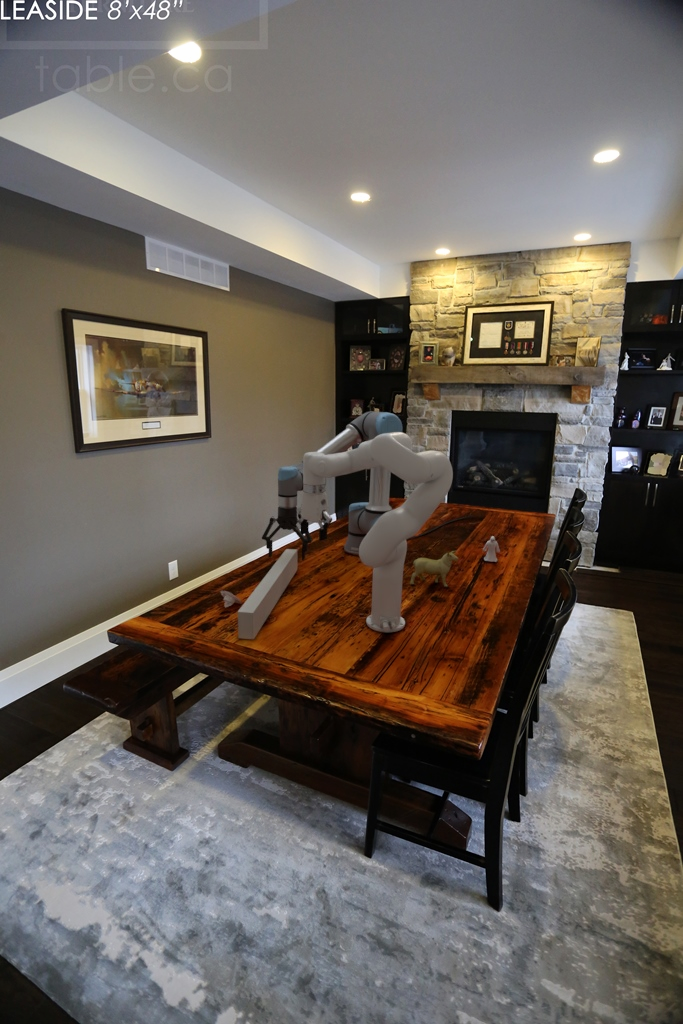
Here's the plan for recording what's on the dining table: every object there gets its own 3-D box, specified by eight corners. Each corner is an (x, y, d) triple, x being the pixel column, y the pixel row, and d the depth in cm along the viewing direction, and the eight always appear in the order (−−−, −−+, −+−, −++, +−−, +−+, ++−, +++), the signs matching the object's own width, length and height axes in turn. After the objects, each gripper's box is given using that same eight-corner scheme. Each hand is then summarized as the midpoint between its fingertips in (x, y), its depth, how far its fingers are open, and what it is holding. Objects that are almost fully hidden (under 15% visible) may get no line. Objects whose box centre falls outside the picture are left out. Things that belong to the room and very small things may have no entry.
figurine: (481, 562, 222) (483, 536, 219) (482, 556, 230) (484, 531, 227) (499, 564, 220) (501, 538, 217) (499, 558, 228) (501, 533, 225)
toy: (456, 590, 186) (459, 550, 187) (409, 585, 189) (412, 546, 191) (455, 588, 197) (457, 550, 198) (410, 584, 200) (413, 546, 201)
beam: (253, 639, 151) (253, 612, 149) (238, 638, 152) (237, 611, 150) (297, 569, 210) (297, 549, 208) (286, 568, 210) (286, 548, 208)
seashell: (226, 615, 174) (211, 598, 174) (236, 605, 178) (222, 588, 177) (235, 611, 168) (219, 593, 168) (245, 600, 172) (230, 583, 171)
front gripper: (339, 491, 167) (338, 540, 171) (305, 483, 179) (305, 529, 183) (323, 494, 162) (322, 544, 166) (289, 486, 174) (289, 533, 178)
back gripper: (320, 506, 199) (319, 557, 204) (259, 502, 202) (259, 552, 207) (317, 510, 191) (315, 563, 196) (253, 506, 194) (254, 558, 199)
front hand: (313, 536), depth 175 cm, fingers open, 9 cm apart
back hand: (286, 557), depth 201 cm, fingers open, 13 cm apart
